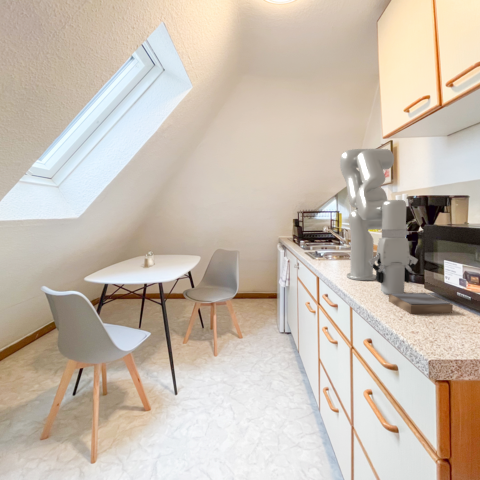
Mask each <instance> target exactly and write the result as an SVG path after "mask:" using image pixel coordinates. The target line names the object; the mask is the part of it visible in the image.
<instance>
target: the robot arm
mask: <svg viewBox="0 0 480 480" xmlns="http://www.w3.org/2000/svg"><path fill="white" fill-rule="evenodd" d="M394 163H395V155H394V153H393V152H392V151H391V150H390V149H388V148H387V149H386V148H355V149H354V148H352V149H347V150H345V151H343V153H341V156H340V158H339V168H340V172H341V175H342V177H343V179H344V181H345V184H346V191H347V197H348V202H349V204H350V206H351V208H357V209H353V210H351V211H350V212H349V215H348V224H349V233H350V270H349V271H350V272H348V273H347V274H346V277H347V278H348V279H349V280H350V279H351V280H354V281H355V280H356V281H375V280H376V282H377V283H380V284H381V283H383V272H382V270H383V269H384V267H385V266H389V265H391V263H402V265H404V266H405V280H404V283H410V277H411V273H410V272H412V270H413V269H414V268H415V267H416V264H417V263H418V261H419V259H418V258H416V257H414V256H413V255H411V254H410V246H409V240H408V238H407V235H410V231H408V230H407V222H406V221H407V202H406V200H404V199H390V200H389V199H388V196H387V193H386V190H384V188H382V187H381V186H382V185H383V184H384V183H385V181H386V175H385V172H384V170H389V169H391V168H392V167H393V166H394ZM369 230H371V231H372V230H381V238H378V243H377V248H376V255H375V256H374V238H373V236H372V234H371V233H370V231H369ZM374 271H375V274H374Z"/></svg>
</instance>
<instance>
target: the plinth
mask: <svg viewBox="0 0 480 480" xmlns="http://www.w3.org/2000/svg"><path fill="white" fill-rule="evenodd" d="M388 302H389V303H390V304H392V305H394V306H396V307H398V308H399V309H401V310H403V311H405V312H406V313H408V314H410V315H432V314H433V315H436V314H437V315H438V314H439V315H440V314H453V310H454V309H453V306H454V305H453V304H451V303H450V302H447V301H446V300H443V299H440V298H438V297H436V296H433V295H431V294H429V293H426V292H407V293H406V292H404V293H395V294H389V295H388Z"/></svg>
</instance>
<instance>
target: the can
mask: <svg viewBox="0 0 480 480" xmlns="http://www.w3.org/2000/svg"><path fill="white" fill-rule="evenodd" d="M382 272H383V283H380V291H381V292H382V293H383V294H384V295H387V296H389V294H395V293H405V282H404V280H405V266H404V265H402V263H391V265H389V266H385V267H384V269H383V270H382Z"/></svg>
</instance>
